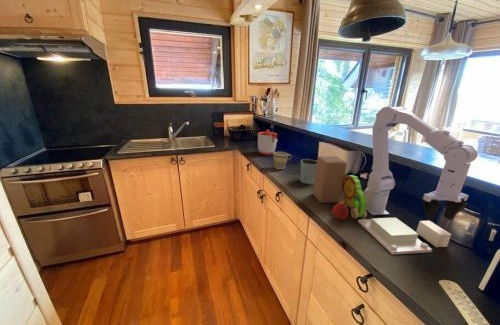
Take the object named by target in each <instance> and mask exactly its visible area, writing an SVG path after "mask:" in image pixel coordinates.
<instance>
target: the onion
mask: <svg viewBox="0 0 500 325" xmlns="http://www.w3.org/2000/svg"><path fill="white" fill-rule="evenodd" d="M332 214H333V216H334V217H335V218H336V220H338V221H341V220H342V221H343V220H345V219H346V218H348V216H349V208H348V206H346V205H345V204H344V203H343V202H340V203H339V202H338V203H335V205H334V206H333V207H332Z"/></svg>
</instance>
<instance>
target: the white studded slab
mask: <svg viewBox="0 0 500 325" xmlns="http://www.w3.org/2000/svg"><path fill="white" fill-rule="evenodd" d="M357 223H359V225H360V226H362V227H363V228H364V229H365V230H366V231H367V232H368V233H369V234H370V235H371V236H372V237H374V239H375V240H376V241H378V242H379V243H380V245H382V246H383V247H384V248H385V249H386V250H387V251H388V252H389V253H390V254H391V255H404V254H405V255H406V254H420V253H421V254H423V253H432V252H433V248H431V247H430V246H429V244H427V243H425V242H423V241H421V240H420V239H419V238H418V237H419V234H418V233H416V231H415V230H414V229H412V228H411V227H409V226H408V225H407V224H405V223H404V222H402V221H401V220H400V219H398V218H397V217H373V218H369V219H368V218H361V219H358V220H357Z"/></svg>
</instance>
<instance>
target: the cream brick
mask: <svg viewBox="0 0 500 325" xmlns="http://www.w3.org/2000/svg"><path fill="white" fill-rule="evenodd" d="M415 232H416V233H418V236H420V237H422V238H423V239H424V240H426V241H427V242H428V243H430V244H431V245H433V246H434V247H435V248H445V247H446V248H447V247H448V244H449V241H450V239H451V236H452V234H451V233H450V232H448V231H447V230H445V229H443V228H442V227H440V226H439V225H437V224H435V223H434V222H433V221H429V220H420V221H419V222H418V225H417V228H416V231H415Z"/></svg>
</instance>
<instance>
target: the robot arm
mask: <svg viewBox="0 0 500 325" xmlns="http://www.w3.org/2000/svg"><path fill="white" fill-rule="evenodd" d="M399 124H400V125H401V124H402V125H406V126H408V127H409V128H411V129H412V130H413V131H415V132H416V133H419V134H420V135H421V136H422V137H424V138H425V143H426V144H427V145H429V146H430V147H431V148H432V149H434V150H435V151H437V152H438V153H440V155H442V156H443V159H444V160H445V164H444V166H443V168H442V170H441V174H440V178H439V180H438V183H437V187H436V189H435V190H434V191H431V192H428V193H424V194H423V196H422V197H421V201H422V204H423V209H424V219H426V220H427V221H431V222H433V220H434V219H435V216H436V214H437V213H438V211H439V210H440V209H441V208H442V207H443V205H442V204H440V203H439V201H445V210H444V214H443V217H444V218H446V219H447V220H449V221H452V220H453V219H454V218H455V216H456V215H457V214H459V212H460V211H462V209H464V208H466V207H467V206H468V205H469V204H468V202H466V201H467V200H468V198H469V194H466V193H463V192H462V189H463V186H464V183H465V181H466V178H467V176H468V173H469V169H470V167H471V163H472V162H474V161H475V160H476V159H477V157H478V151H477V149H475V148H474V146H473V145H471V144H465V142H464V141H463V140H458V139H457V138H455V137H453V136H452V135H451V134H450V133H451V132H450V131H449V130H447V129H446V130H445V129H444V130H443V129H434V128H433V127H431V126H430V125H429V124H428V123H426V122H425V121H424V120H422V119H421V118H420V117H418V116H417V115H416V114H415V113H414V112H412V111H411V110H410V109H407V108H406V107H405V106H384V107H382V108H381V109H379V111H377V112H376V113H375V121H374V124H373V126H372V130H371V131H372V157H373V158H372V164H373V166H372V168H373V170H372V171H371V172H370V173H369V175H368V181H367V186H366V188H365V189H364V190H363V193H364V194H365V197H366V209H365V210H366V212H367V213H370V215H373V216H381V215H385V216H386V215H390V212H388V211H387V210H386V206H387V203H388V199H389V195H390V192H391V191H392V190H393V189H394V188H395V186H396V181H395V179H394V177H393V176H394V175H393V173H392V171H391V170H390V167H389V166H390V165H389V164H390V162H389V161H390V160H389V159H390V158H389V132H390V131H391V130H392V129H394V127H396V126H397V125H399Z"/></svg>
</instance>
